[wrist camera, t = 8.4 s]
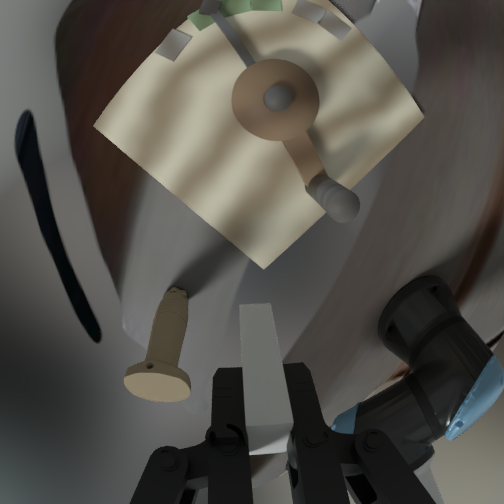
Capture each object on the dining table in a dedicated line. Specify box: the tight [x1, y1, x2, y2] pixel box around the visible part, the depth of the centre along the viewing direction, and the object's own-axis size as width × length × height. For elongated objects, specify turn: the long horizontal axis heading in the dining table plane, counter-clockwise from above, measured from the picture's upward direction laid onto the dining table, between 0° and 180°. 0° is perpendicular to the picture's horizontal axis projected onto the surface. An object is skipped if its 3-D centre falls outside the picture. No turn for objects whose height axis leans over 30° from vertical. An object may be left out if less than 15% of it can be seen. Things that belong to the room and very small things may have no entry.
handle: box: [124, 287, 191, 402], centre depth 29 cm, size 5×6×15 cm
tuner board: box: [94, 0, 424, 269], centre depth 25 cm, size 26×28×1 cm
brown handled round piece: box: [199, 0, 360, 223], centre depth 20 cm, size 25×8×8 cm, turn 30°
